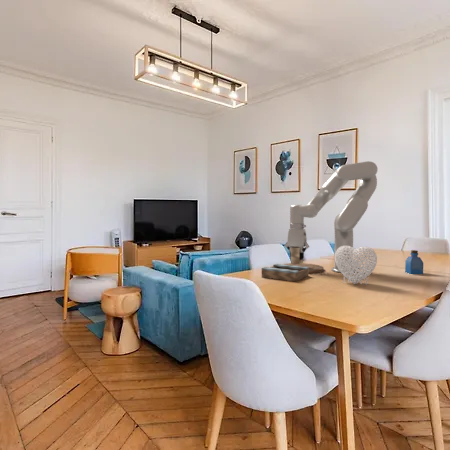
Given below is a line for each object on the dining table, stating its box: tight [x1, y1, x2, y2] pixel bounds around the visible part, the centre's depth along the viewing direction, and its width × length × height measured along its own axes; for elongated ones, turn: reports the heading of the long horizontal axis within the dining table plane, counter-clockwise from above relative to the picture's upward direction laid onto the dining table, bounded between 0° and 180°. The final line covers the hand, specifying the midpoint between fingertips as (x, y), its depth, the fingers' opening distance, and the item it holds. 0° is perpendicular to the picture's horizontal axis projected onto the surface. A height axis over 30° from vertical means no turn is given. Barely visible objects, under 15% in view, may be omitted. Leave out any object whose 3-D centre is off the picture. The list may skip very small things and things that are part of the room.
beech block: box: [290, 247, 304, 264], centre depth 187 cm, size 5×5×9 cm
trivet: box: [283, 262, 325, 275], centre depth 187 cm, size 25×25×2 cm
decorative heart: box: [334, 246, 378, 286], centre depth 151 cm, size 18×11×17 cm, turn 57°
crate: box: [261, 263, 309, 282], centre depth 168 cm, size 18×16×5 cm
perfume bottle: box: [404, 249, 424, 275], centre depth 173 cm, size 6×6×12 cm
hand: (296, 258), depth 188 cm, fingers closed on beech block, 4 cm apart
